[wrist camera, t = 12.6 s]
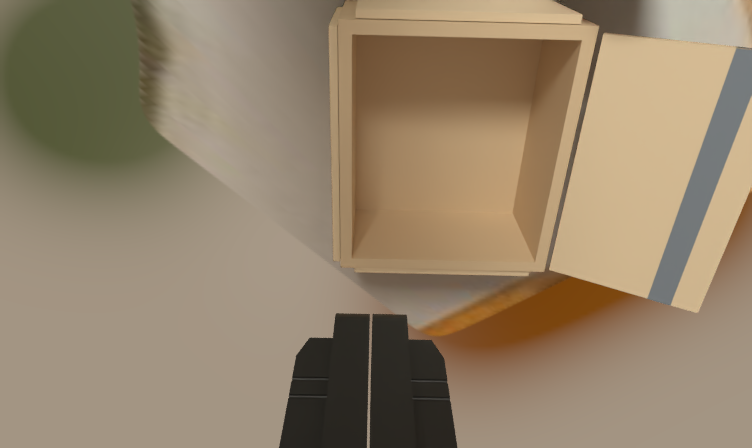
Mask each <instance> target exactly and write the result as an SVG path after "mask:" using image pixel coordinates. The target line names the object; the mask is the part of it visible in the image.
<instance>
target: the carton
mask: <svg viewBox="0 0 752 448" xmlns="http://www.w3.org/2000/svg"><path fill="white" fill-rule="evenodd" d="M582 16H583V15H582V14H580V13H578V12H576V11H574V10H572V9H570V8H568V7H566V6H563V5H561V4H559V3H557V2H555V1H553V0H345V2H344V5H343V7H337V8H336V11H335V13H334V15H333V17H332V19H331V21H330V24H329V26H328V27H329V76H330V126H331V175H332V225H333V261H340V258H341V267H344V268H355V272H362V273H408V274H453V275H498V276H529V272H544V270H545V266H546V261H547V257H548V252H549V248H550V243H551V239H552V234H553V230H554V226H555V221H556V217H557V212H558V208H559V203H560V199H561V194H562V190H563V186H564V181H565V177H566V172H567V168H568V163H569V159H570V154H571V150H572V146H573V141H574V137H575V132H576V128H577V123H578V119H579V114H580V110H581V105H582V101H583V97H584V92H585V88H586V83H587V79H588V74H589V70H590V65H591V61H592V57H593V52H594V48H595V43H596V39H597V34H598V30H599V26H598V25H596V24H594V23H592V22H590V21H588V20H586V19H584V18H582Z"/></svg>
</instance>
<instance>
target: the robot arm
mask: <svg viewBox="0 0 752 448" xmlns="http://www.w3.org/2000/svg"><path fill="white" fill-rule="evenodd" d="M369 321H370V314H339V313H337V314H336V316H335V324H334V333H333V338H309V339H308V341H307V342H306V343H305V345H304V346H303V348H302V349H301V350H300V352H299V353H298V354H297V355H296V360H295V366H294V371H293V377H292V382H291V388H290V393H289V398H288V404H287V408H286V414H285V419H284V425H283V430H282V435H281V441H280V446H279V448H367V409H368V365H369V364H368V363H369ZM370 448H457V442H456V436H455V429H454V422H453V415H452V410H451V402H450V396H449V389H448V384H447V375H446V368H445V361H444V358H443V356H442V355H441V353H440V352H439V350H438V349H437V348H436V346H435V345H434V343H433V342H432V340H409V339H408V326H407V316H406V315H392V314H373V321H372V358H371V402H370Z"/></svg>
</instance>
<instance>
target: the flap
mask: <svg viewBox="0 0 752 448" xmlns="http://www.w3.org/2000/svg"><path fill="white" fill-rule="evenodd" d="M751 187H752V48H745V47H735V46H726V45H716V44H707V43H698V42H688V41H679V40H670V39H660V38H651V37H642V36H632V35H623V34H614V33H604V34H603V38H602V42H601V46H600V51H599V55H598V59H597V64H596V68H595V72H594V77H593V81H592V85H591V90H590V94H589V98H588V103H587V107H586V111H585V116H584V120H583V124H582V129H581V133H580V138H579V142H578V146H577V151H576V155H575V159H574V164H573V168H572V172H571V177H570V181H569V185H568V190H567V194H566V198H565V203H564V207H563V211H562V216H561V220H560V224H559V229H558V233H557V237H556V242H555V246H554V251H553V255H552V259H551V264H550V268H549V270H551V271H555V272H558V273H562V274H565V275H568V276H572V277H575V278H579V279H582V280H586V281H589V282H592V283H596V284H599V285H603V286H606V287H609V288H613V289H616V290H620V291H623V292H627V293H630V294H634V295H637V296H640V297H644V298H647V299H650V300H653V301H657V302H660V303H664V304H667V305H671V306H674V307H678V308H682V309H685V310H689V311H692V312H695V313H698V311H699V309H700V307H701V305H702V302H703V300H704V297H705V295H706V293H707V290H708V288H709V286H710V283H711V281H712V279H713V276H714V274H715V272H716V269H717V267H718V264H719V262H720V260H721V257H722V255H723V253H724V250H725V248H726V246H727V243H728V241H729V239H730V236H731V234H732V231H733V229H734V227H735V224H736V222H737V220H738V217H739V215H740V213H741V210H742V208H743V205H744V203H745V201H746V198H747V196H748V194H749V191H750V189H751Z"/></svg>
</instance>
